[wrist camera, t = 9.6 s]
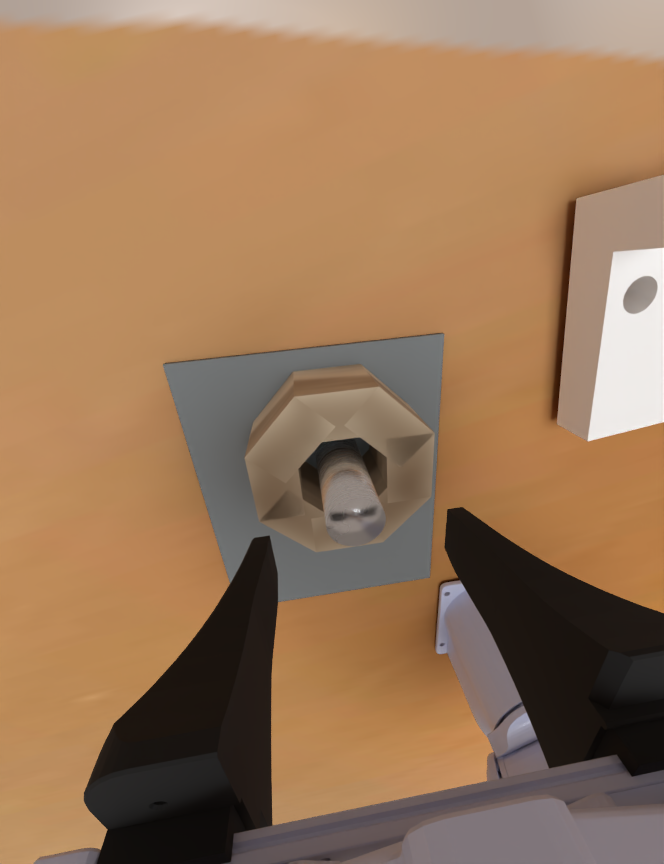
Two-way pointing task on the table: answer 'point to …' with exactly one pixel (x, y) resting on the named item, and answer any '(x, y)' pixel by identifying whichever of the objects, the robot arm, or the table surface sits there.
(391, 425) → the ring
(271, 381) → the mat
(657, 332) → the bracket
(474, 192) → the table surface
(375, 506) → the peg
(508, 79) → the table surface
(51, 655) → the table surface
